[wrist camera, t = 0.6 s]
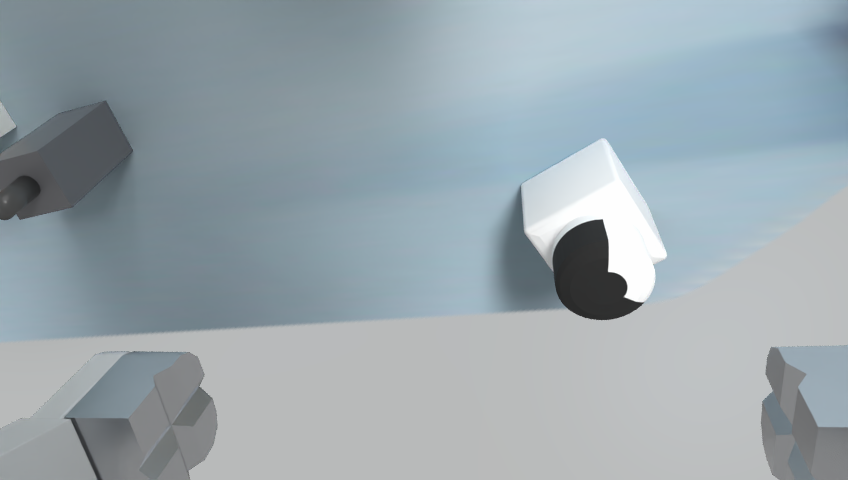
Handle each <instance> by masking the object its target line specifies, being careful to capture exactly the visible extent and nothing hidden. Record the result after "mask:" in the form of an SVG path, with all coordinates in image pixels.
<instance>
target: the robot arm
mask: <svg viewBox="0 0 848 480" xmlns="http://www.w3.org/2000/svg"><path fill="white" fill-rule="evenodd" d="M766 376H767V378H768V380H769V383H770V385H771V387H772V389H773V392H772V393H770V394H769V395H768V396H767V398H765V399H764V400H763V402H762V417H761V426H762V439H763V445H764V450H765V454H766V458H767V461H768V464H769V467H770V469H771V472H772V475H774V476H775V477H777V478H778V479H779V480H848V345H846V346H800V347H799V346H798V347H771V349H770V351H769V354H768V357H767V365H766ZM203 377H204V372H203V370H202V367H201V365H200V362H199V359H198V357H197V356H195V355H193V354H191V353H189V352H135V351H134V352H128V351H126V352H125V351H124V352H123V351H121V352H103V353H99V354H96V355H94V356H93V357H92V358H91V359H90V360H89V361H88V362H87V363H86V364H85V365H84V366H83V367H82V368H81V369H80V370H79V371H78V372H77V373H76V374H75V375H74V376H72V378H70V379H69V380H68V381H67V382H66V383H65V384H64V385H63V386H62V387H61V388H60V389H59V390H58V391H57V392H56V393H55V394H54V395H53V396H52V397H51V398H50V399H49V400H48V401H47V402H46V403H45V404H44V405H43V406H42V407H41V408H40V409H39V410H38V411H37V412H36V413H35V414H34V415H33V416H32V417H31V418H20V419H18V420H16V421H15V422H12V423H10V424H8V425H6V426H4V427H2V428H0V480H190V477H189V472H188V471H189V470H190V469H192V468H193V467H195V466H196V465H197V464H199V463H200V462H202V461H203V460H205V458H206V456H207V455H208V453H209V451H210V450H211V448H212V446H213V444H214V439H215V435H216V430H217V414H216V409H215V405H214V402H213V399H212V398H211V397H210V396H209V395H208V394H207V393H206V392H205V391H204V390H202V389H201V388H200V387H199V386H200V384H201V381H202V379H203Z"/></svg>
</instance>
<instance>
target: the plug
mask: <svg viewBox="0 0 848 480" xmlns="http://www.w3.org/2000/svg"><path fill="white" fill-rule="evenodd" d="M132 151H133V150H132V148H131V146H130V144H129V142H128V141H127V139H126V137H125V135H124V133H123V131H122V130H121V128H120V126H119V124H118V122H117V120H116V119H115V117H114V115H113V113H112V111H111V109H110V108H109V106H108V104H107V102H106V101H103V102H99V103H95V104H92V105H88V106H84V107H81V108H77V109H74V110H70V111H66V112H63V113H59V114H57V115H56V116H54V117H53V118H51V119H50V120H48V121H47V122H46V123H44V124H43V125H41V126H40V127H38V128H37V129H35V130H34V131H32V132H31V133H30V134H28V135H27V136H25V137H24V138H22V139H21V140H19V141H18V142H16V143H15V144H13V145H12V146H11V147H9V148H8V149H6V150H5V151H3V152H2V153H0V219H1V220H8V219H10V218H12V217H13V216H14V215H15V214H17V216H18V217H19V219H20V220H21V219H25V218H29V217H33V216H38V215H42V214H46V213H50V212H54V211H59V210H63V209H67V208H71V207H73V206H74V205H75V204H76V203H77V202H78V201H80V200H81V199H82V198H83V197H84V196H85V195H86V194H87V193H88V192H89V191H90V190H91V189H92V188H94V187H95V186H96V185H97V184H98V183H99V182H100V181H101V180H102V179H103V178H104V177H105V176H106V175H108V174H109V173H110V172H111V171H112V170H113V169H114V168H115V167H116V166H117V165H118V164H119V163H120V162H121V161H123V160H124V159H125V158H126V157H127V156H128V155H129V154H130V153H131V152H132Z"/></svg>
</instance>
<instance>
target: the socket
mask: <svg viewBox="0 0 848 480" xmlns="http://www.w3.org/2000/svg"><path fill="white" fill-rule="evenodd" d="M15 127H16V125H15V123H14V122H13V120H12V119H11V117H10V115H9V114H8V112H7V111H6V109H5V107H4V106H3V104H2V103H1V101H0V137H2V136H3V135H5V134H6V133H8V132H9V131H11V130H12V129H14V128H15Z"/></svg>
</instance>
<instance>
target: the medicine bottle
mask: <svg viewBox="0 0 848 480" xmlns="http://www.w3.org/2000/svg"><path fill="white" fill-rule="evenodd" d="M521 197H522V210H523V223H524V232H525V234H526V236H527V237H528V238H529V240H530V241H531V243H532V244H533V245H534V247H535V248H536V249H537V251H538V252H539V253H540V255H541V256H542V257H543V259H544V260H545V262H546V263H547V264H548V266H549V267H550V268H551V270H552V271H553V272H554V279H555V286H556V292H557V294H558V297H559V299H560V300H561V302H562V303H563V304H564V305H565V306H566V307H567V308H568V309H569V310H570V311H572V312H574V313H575V314H577V315H579V316H582V317H585V318H589V319H596V320H609V319H615V318H619V317H622V316H625V315H627V314H629V313H631V312H633V311H634V310H636V309H637V308H639V307H640V306H641V305H642V304H643V303H644V302H645V301H646V300H647V299H648V297H649V296H650V294H651V292H652V290H653V287H654V284H655V270H654V267H653V265H654V264H656V263H658V262H660V261H662V260H664V259H665V258H666V257H667V253H666V250H665V248H664V245H663V243H662V240H661V238H660V235H659V233H658V230H657V228H656V225H655V223H654V220H653V218H652V215H651V213H650V210H649V208H648V205H647V204H646V202H645V201H644V199H643V197H642V196H641V194H640V193H639V191H638V189H637V188H636V186H635V185H634V183H633V181H632V180H631V178H630V177H629V175H628V173H627V172H626V170H625V169H624V167H623V165H622V164H621V162H620V160H619V159H618V157H617V156H616V154H615V152H614V151H613V149H612V148H611V146H610V144H609V143H608V141H607V140H606V139H604V138H602V139H599V140H597V141H596V142H594V143H592V144H590V145H589V146H587V147H585V148H583V149H582V150H580V151H578V152H576V153H575V154H573V155H571V156H569V157H568V158H566V159H564V160H562V161H561V162H559V163H557V164H555V165H553V166H552V167H550V168H548V169H546V170H545V171H543V172H541V173H539V174H538V175H536V176H534V177H532V178H531V179H529V180H527V181H525V182H524V183H523V184H522V185H521Z"/></svg>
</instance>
